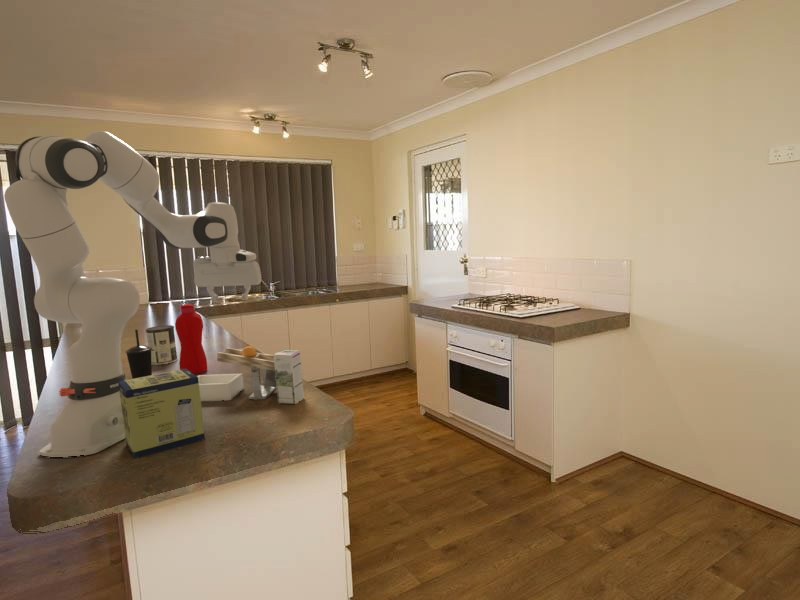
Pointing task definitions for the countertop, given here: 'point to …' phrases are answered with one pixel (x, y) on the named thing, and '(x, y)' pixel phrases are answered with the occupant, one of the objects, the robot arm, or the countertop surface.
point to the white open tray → (220, 386)
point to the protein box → (161, 411)
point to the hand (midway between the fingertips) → (230, 300)
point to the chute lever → (251, 362)
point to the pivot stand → (259, 390)
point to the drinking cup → (139, 359)
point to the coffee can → (162, 344)
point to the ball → (249, 351)
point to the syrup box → (288, 376)
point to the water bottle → (191, 340)
